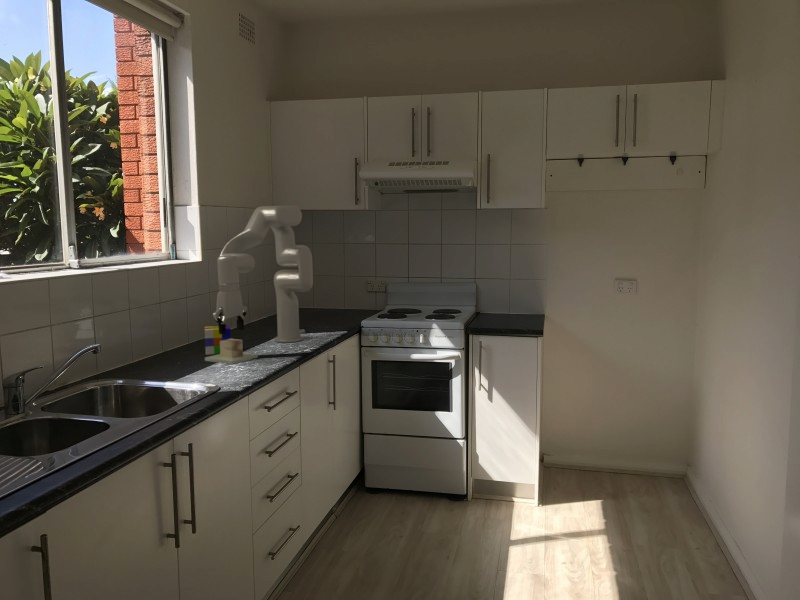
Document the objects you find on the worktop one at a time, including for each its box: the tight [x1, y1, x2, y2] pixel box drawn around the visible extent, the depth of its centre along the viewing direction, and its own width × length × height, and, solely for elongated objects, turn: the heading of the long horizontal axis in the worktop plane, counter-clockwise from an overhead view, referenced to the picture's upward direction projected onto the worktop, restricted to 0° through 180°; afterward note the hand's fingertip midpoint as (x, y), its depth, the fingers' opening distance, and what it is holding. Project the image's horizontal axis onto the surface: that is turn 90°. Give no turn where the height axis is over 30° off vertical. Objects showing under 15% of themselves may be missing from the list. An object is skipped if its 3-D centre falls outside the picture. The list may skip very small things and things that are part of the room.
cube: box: [220, 338, 244, 358], centre depth 260 cm, size 6×6×6 cm
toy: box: [204, 325, 232, 356], centre depth 275 cm, size 10×10×10 cm
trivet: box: [204, 352, 259, 365], centre depth 260 cm, size 14×14×1 cm
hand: (231, 331), depth 260 cm, fingers open, 9 cm apart
